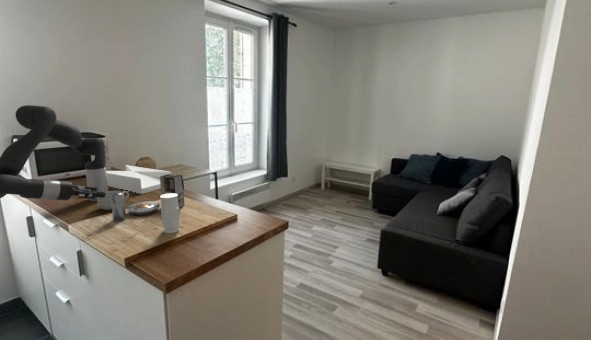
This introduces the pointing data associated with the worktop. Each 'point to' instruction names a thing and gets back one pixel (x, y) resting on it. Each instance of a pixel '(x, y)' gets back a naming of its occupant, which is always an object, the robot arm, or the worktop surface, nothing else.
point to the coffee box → (173, 186)
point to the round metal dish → (143, 208)
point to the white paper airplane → (136, 179)
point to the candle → (170, 212)
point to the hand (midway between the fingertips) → (100, 192)
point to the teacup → (108, 200)
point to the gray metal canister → (118, 206)
